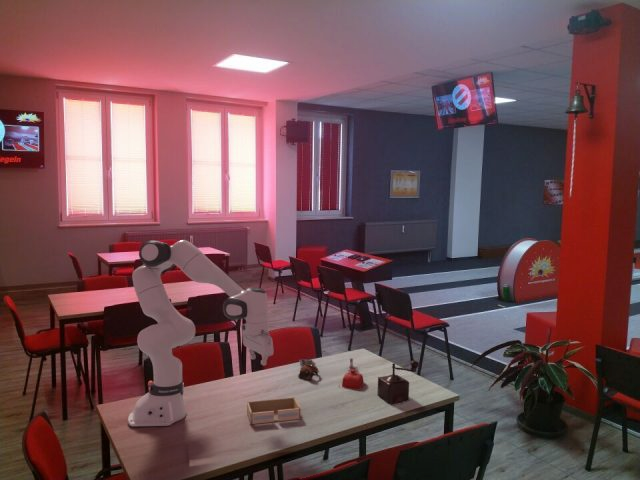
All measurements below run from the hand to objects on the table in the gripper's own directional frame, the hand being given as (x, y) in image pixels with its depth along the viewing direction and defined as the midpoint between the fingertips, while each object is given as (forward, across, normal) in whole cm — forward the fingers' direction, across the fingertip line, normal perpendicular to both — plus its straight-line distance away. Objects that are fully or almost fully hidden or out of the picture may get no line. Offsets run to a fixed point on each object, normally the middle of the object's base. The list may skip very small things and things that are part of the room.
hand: (258, 361), depth 200 cm
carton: (+23, -3, -5) cm, 23 cm away
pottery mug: (+24, +23, -37) cm, 50 cm away
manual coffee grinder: (+24, -18, -60) cm, 67 cm away
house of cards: (+24, +18, -64) cm, 70 cm away
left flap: (+23, -5, +6) cm, 24 cm away
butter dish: (+24, +5, -52) cm, 57 cm away
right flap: (+23, -12, -12) cm, 29 cm away
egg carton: (+23, +35, -48) cm, 64 cm away
